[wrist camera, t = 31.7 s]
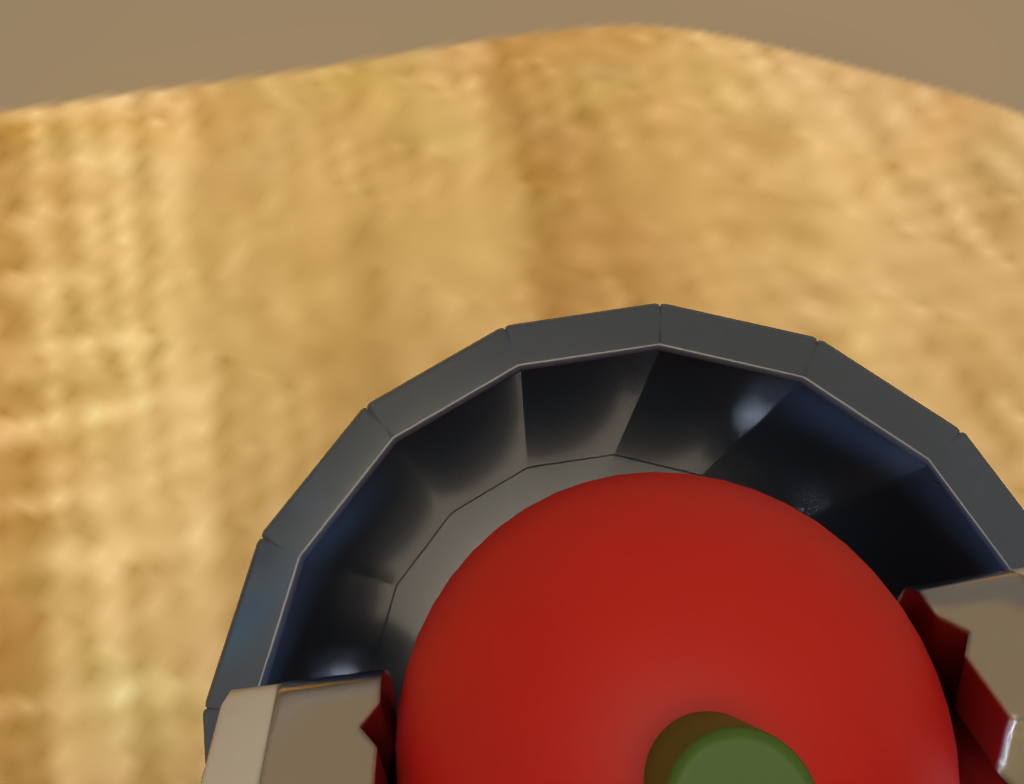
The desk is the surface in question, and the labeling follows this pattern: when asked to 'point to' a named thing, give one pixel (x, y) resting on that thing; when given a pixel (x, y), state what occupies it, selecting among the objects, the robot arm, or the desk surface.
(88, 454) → the desk surface
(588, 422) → the pot
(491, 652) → the pepper
